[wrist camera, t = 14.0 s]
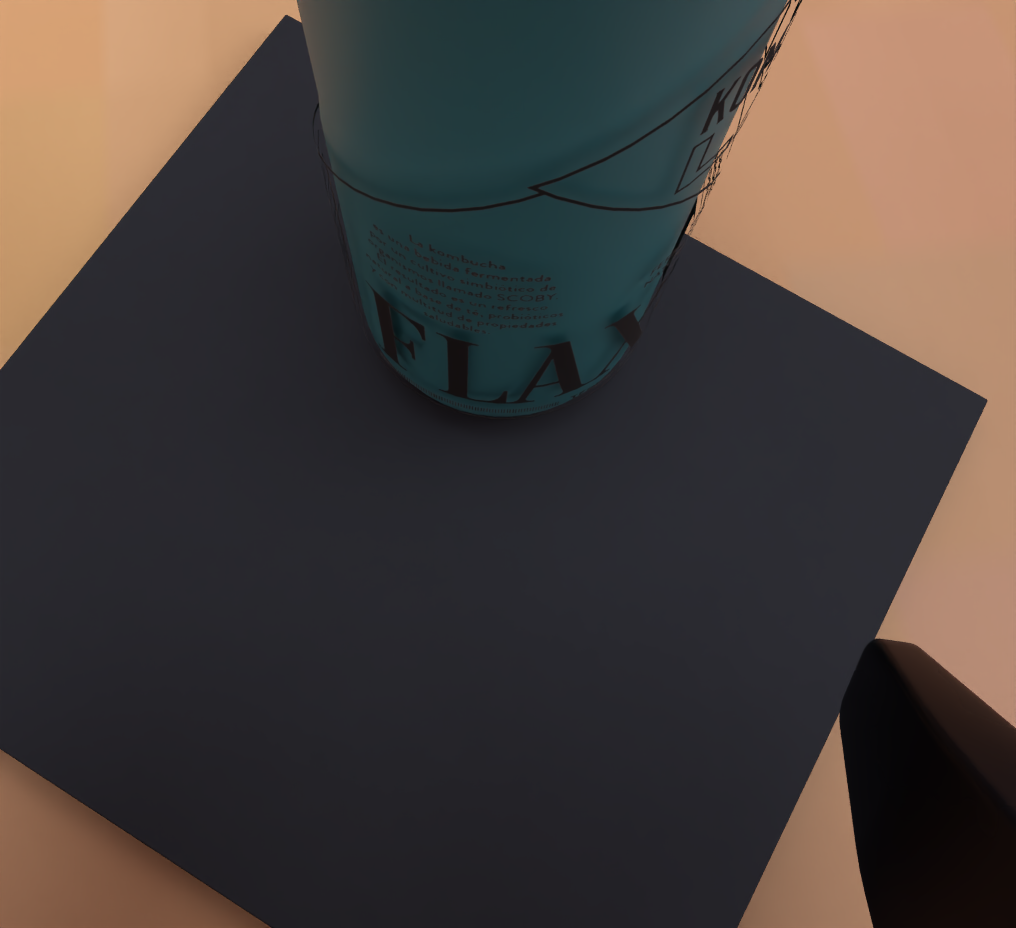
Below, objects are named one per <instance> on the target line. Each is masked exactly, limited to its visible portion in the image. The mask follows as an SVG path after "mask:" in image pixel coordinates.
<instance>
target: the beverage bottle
mask: <svg viewBox="0 0 1016 928" xmlns="http://www.w3.org/2000/svg"><path fill="white" fill-rule="evenodd" d="M796 1H797V0H795V2H796ZM786 2H787V0H297V3H298V8H299V12H300V17H301V21H302V25H303V30H304V34H305V38H306V43H307V47H308V52H309V56H310V60H311V65H312V69H313V73H314V78H315V82H316V87H317V91H318V95H319V103H318V104H317V107H316V109H315V112H314V118H313V126H314V120H315V114H316V112H317V109H318V107H319V110H320V118H321V123H322V127H323V132H324V137H325V141H326V146H327V150H328V155H329V159H330V164H331V168H332V170H331V169H330V168H329V167H328V165H327V164H326V163H325V161H324V160H323V153H322V157H321V155H320V154H319V157H321V159H322V164H323V162H324V164H325V165H326V169H327V168H328V169H329V170H330V171H331V172H332V173H333V177H334V181H335V186H336V190H337V195H338V199H339V204H340V208H341V213H342V217H343V221H344V226H345V230H346V235H347V239H348V244H349V248H350V253H351V257H352V264H353V266H354V270H355V275H356V279H357V284H358V288H359V293H360V297H361V301H362V306H363V310H364V313H365V316H366V319H367V323H368V325H369V328H370V330H371V332H372V334H373V336H374V339H375V341H376V343H377V344H378V346H379V347H380V349H381V351H382V352H383V354H384V355H385V356H384V359H385V357H386V358H387V359H388V360H387V359H386V362H387V361H389V362H390V363H391V364H392V368H393V367H394V370H395V369H396V372H397V371H398V374H399V373H400V376H401V375H402V377H404V379H406V380H407V381H409V382H410V383H411V384H412V385H414V386H415V387H417V388H418V389H419V390H421V391H422V392H423V393H425V394H426V395H428V396H429V397H431V398H433V399H435V400H437V401H439V402H440V403H442V404H444V405H447V406H450V407H452V408H455V409H457V410H460V411H464V412H468V413H472V414H477V415H484V416H476V415H472V414H468V413H463V412H459V411H455V410H453V409H450V408H448V407H445V406H442V405H440V404H437V403H435V402H433V401H431V400H429V399H428V398H426V397H424V396H422V395H420V394H419V393H417V392H416V391H414V390H413V389H412V388H410V387H409V386H407V385H406V384H405V383H403V382H402V381H401V380H400V379H399V378H398V377H397V376H396V375H395V374H394V373H393V372H392V373H393V374H394V375H395V376H396V377H397V378H398V379H399V380H400V381H401V382H402V383H403V384H405V385H406V386H407V387H409V388H410V389H411V390H413V391H414V392H416V393H417V394H418V395H420V396H422V397H424V398H426V399H427V400H429V401H431V402H433V403H435V404H437V405H439V406H442V407H445V408H447V409H450V410H453V411H455V412H459V413H463V414H467V415H471V416H475V417H484V418H493V417H513V416H521V415H529V414H533V413H537V412H541V411H545V410H548V409H551V408H553V407H556V406H558V405H561V404H563V403H565V402H567V401H569V400H571V399H573V398H575V397H577V396H579V395H581V394H583V393H585V391H588V390H589V389H590V388H591V387H592V388H593V387H594V385H595V384H596V385H598V384H599V383H598V382H599V381H601V379H602V378H603V377H604V376H605V375H606V374H608V373H609V372H610V371H611V369H612V368H613V367H614V366H615V365H616V363H617V362H618V361H619V360H620V359H621V357H622V355H623V354H624V352H625V351H626V349H627V348H628V346H630V349H631V348H632V346H633V345H634V344H635V343H636V342H637V340H638V339H639V337H640V336H641V334H642V330H641V327H640V325H639V323H640V321H641V320H642V318H643V316H644V315H645V313H646V312H647V310H648V308H649V307H650V305H651V303H652V305H653V300H654V298H655V297H656V298H657V293H658V292H659V290H660V289H661V287H662V285H663V284H664V282H665V281H666V279H667V278H666V279H665V280H664V281H663V278H664V276H665V274H666V272H667V269H668V267H669V265H670V263H671V261H672V260H673V258H675V257H674V254H675V252H676V250H677V249H678V247H680V245H679V244H681V243H680V242H681V239H682V237H683V235H684V233H685V231H686V229H687V227H688V224H689V222H690V220H691V218H692V216H693V214H694V217H695V211H696V204H697V196H698V195H699V194H700V193H701V192H702V191H704V190H705V189H708V187H709V186H710V185H711V186H712V184H713V181H714V180H715V179H716V178H717V176H718V175H719V174H720V173H719V174H718V172H719V171H718V172H717V174H718V175H717V174H716V177H715V179H713V178H714V177H712V180H713V181H712V183H708V184H707V186H706V187H705V188H703V189H702V190H701V188H702V185H703V183H704V184H705V179H706V177H707V175H708V172H709V171H710V172H712V169H711V166H712V165H713V163H714V162H716V161H717V160H718V158H719V157H720V156H721V154H723V152H724V151H725V150H726V149H727V148H728V146H729V144H730V142H732V141H731V139H732V137H733V135H734V134H733V135H732V137H731V138H730V139H729V140H728V141H729V143H728V141H727V142H726V143H725V144H724V146H725V145H726V144H727V143H728V145H727V147H726V148H725V150H724V151H723V152H721V154H720V155H719V156H717V155H718V153H719V151H720V150H721V149H722V148H723V147H724V146H723V147H722V148H721V149H720V150H719V148H720V146H721V144H722V142H723V140H724V137H725V135H726V133H727V131H728V129H729V126H730V124H731V122H732V120H733V118H734V116H735V113H736V111H737V109H738V107H739V105H740V103H741V102H742V101H743V99H744V98H745V100H746V97H745V96H747V93H748V91H749V89H750V87H751V85H752V83H753V80H754V78H755V76H756V74H757V72H758V70H759V67H760V65H761V63H762V61H763V58H761V57H762V54H763V52H764V50H765V58H766V59H765V58H764V60H765V61H764V64H763V66H762V68H761V70H760V72H759V74H758V77H757V79H756V81H755V83H754V85H753V87H752V90H753V89H754V88H755V87H756V84H757V82H758V80H759V78H760V76H761V73H762V76H763V71H764V69H765V68H766V67H767V65H768V64H769V63H770V64H771V62H772V60H773V58H774V56H775V54H776V53H778V52H777V51H779V49H780V47H781V45H782V44H780V43H781V41H782V39H783V37H784V35H785V33H786V30H787V28H788V26H789V25H790V23H791V21H792V19H793V17H795V16H794V15H796V14H795V13H796V11H797V9H798V7H799V5H800V3H801V2H802V0H801V1H800V0H799V2H800V3H799V2H798V4H797V7H796V9H795V11H794V13H793V15H792V18H791V20H790V23H789V24H788V26H787V28H786V30H785V31H784V33H783V35H782V37H781V39H780V41H779V43H778V45H777V46H778V47H776V48H777V49H776V48H775V45H776V43H775V44H774V45H773V46H772V47H771V45H772V43H773V41H774V39H775V37H776V34H777V32H778V30H779V28H780V26H781V24H782V22H783V19H784V17H785V15H786V13H787V11H788V9H789V7H790V4H791V0H789V2H788V3H787V4H786ZM785 4H786V6H785ZM788 4H789V6H788V8H787V10H786V12H785V15H784V17H783V19H782V21H781V23H780V25H779V27H778V30H777V32H776V34H775V36H774V38H773V40H772V43H771V45H770V47H771V48H770V47H769V49H770V51H769V49H768V51H767V43H768V41H769V39H770V37H771V35H772V33H773V30H774V28H775V26H776V24H777V22H778V19H779V17H780V15H781V14H782V12H783V11H784V9H785V8H786V7H787V5H788ZM784 6H785V7H784ZM792 22H793V21H792ZM791 24H792V23H791ZM790 26H791V25H790ZM789 28H790V27H789ZM788 30H789V29H788ZM787 32H788V31H787ZM786 34H787V33H786ZM785 36H786V35H785ZM784 38H785V37H784ZM779 45H780V46H779ZM774 49H775V50H776V51H775V50H774ZM766 51H767V53H766ZM768 52H769V53H768ZM774 52H775V53H774ZM767 54H768V55H767ZM776 55H777V54H776ZM766 56H767V57H766ZM775 57H776V56H775ZM768 59H769V60H768ZM774 59H775V58H774ZM767 61H768V62H767ZM770 61H771V62H770ZM773 61H774V60H773ZM770 64H769V66H770ZM769 66H768V68H769ZM756 67H757V68H756ZM768 68H767V70H768ZM770 68H771V67H770ZM767 70H766V71H767ZM769 70H770V69H769ZM765 73H766V72H765ZM753 74H754V75H753ZM767 74H768V73H767ZM752 76H753V77H752ZM766 76H767V75H766ZM766 76H765V78H766ZM751 78H752V79H751ZM765 78H764V80H765ZM761 80H762V77H761ZM762 82H763V81H762ZM762 82H761V81H760V83H761V84H759V88H761V85H762ZM759 88H758V89H759ZM746 89H747V90H746ZM752 90H751V91H752ZM759 90H760V89H759ZM751 91H750V93H751ZM758 92H759V91H758ZM757 94H758V93H757ZM756 96H757V95H756ZM755 98H756V97H755ZM753 101H754V100H753ZM752 103H753V102H752ZM744 104H745V101H744ZM751 105H752V104H751ZM750 107H751V106H750ZM743 108H744V105H743ZM749 109H750V108H749ZM748 111H749V110H748ZM748 111H747V112H748ZM742 112H743V109H742ZM746 114H747V113H746ZM741 116H742V113H741ZM745 116H746V115H745ZM747 116H748V115H747ZM744 118H745V117H744ZM746 118H747V117H746ZM740 120H741V117H740ZM740 120H739V124H740ZM743 120H744V119H743ZM744 121H745V120H744ZM742 122H743V121H742ZM743 123H744V122H743ZM739 124H738V127H740V126H739ZM740 125H741V124H740ZM742 125H743V124H742ZM741 127H742V126H741ZM741 127H740V128H741ZM738 129H739V128H737V131H739V130H740V129H739V130H738ZM737 131H736V134H737V133H738V132H737ZM318 132H319V130H318ZM736 134H735V135H734V137H733V139H734V138H735V136H736ZM313 137H314V131H313ZM318 137H319V135H318ZM318 139H319V138H318ZM733 139H732V140H733ZM733 141H734V140H733ZM314 142H315V141H314ZM318 144H319V142H318ZM732 144H733V143H732ZM315 145H316V144H315ZM731 146H732V145H731ZM316 148H317V147H316ZM318 148H319V147H318ZM730 149H731V148H730ZM317 150H318V149H317ZM718 150H719V151H718ZM318 151H319V150H318ZM729 152H730V151H729ZM318 153H319V152H318ZM728 154H729V153H728ZM716 157H717V159H716ZM727 157H728V156H727ZM721 158H722V156H721ZM714 159H716V160H715V161H714ZM720 160H721V161H722V159H720V158H719V162H720V163H721V161H720ZM713 161H714V162H713ZM320 163H321V161H320ZM716 163H717V162H716ZM720 163H719V166H718V168H720ZM715 166H716V164H714V168H715V169H714V170H715V172H716V167H715ZM322 167H323V166H322ZM321 169H322V168H321ZM328 169H327V173H328ZM710 169H711V170H710ZM718 170H719V169H718ZM322 171H324V170H322ZM720 172H721V171H720ZM323 173H325V171H324V172H323ZM709 174H710V173H709ZM713 174H714V172H713ZM322 175H323V174H322ZM710 176H711V175H710ZM714 176H715V174H714ZM328 177H329V173H328ZM709 179H711V178H710V177H708V180H709ZM324 181H325V182H326V179H325V178H324ZM328 181H330V177H329V179H328ZM709 181H710V180H709ZM715 181H716V180H715ZM325 182H324V183H325ZM714 183H715V182H714ZM325 185H326V184H325ZM328 185H329V184H328ZM330 185H331V181H330ZM713 185H714V184H713ZM326 188H327V185H326ZM710 188H711V187H710ZM328 189H329V186H328ZM331 190H332V186H331ZM700 190H701V191H700ZM708 190H709V189H708ZM326 191H329V190H326ZM706 191H707V190H706ZM710 191H712V190H711V189H710ZM710 191H709V192H710ZM707 193H708V191H707ZM332 194H333V190H332ZM327 195H329V194H328V192H327ZM706 195H707V194H706ZM708 195H709V194H708ZM702 197H703V195H702ZM705 197H707V196H705ZM329 198H331V194H330V196H329ZM333 198H334V194H333ZM705 199H706V198H705ZM705 199H704V201H705ZM330 201H331V200H329V202H330ZM334 202H335V199H334ZM701 203H702V201H701ZM330 204H331V202H330ZM339 204H338V211H339ZM334 205H335V212H334V213H335V215H334V214H333V211H332V214H333V215H334V217H335V216H336V211H337V207H336V203H334ZM703 206H704V203H703ZM331 208H332V206H331ZM702 209H703V207H702ZM702 209H701V211H700V210H699V211H700V212H699V213H701V212H702ZM338 211H337V215H338ZM699 213H698V214H699ZM699 216H700V215H699ZM697 217H698V215H697ZM697 217H696V218H697ZM698 218H699V217H698ZM335 219H336V217H335ZM338 219H339V216H338ZM333 220H334V218H333ZM693 220H694V219H693ZM694 221H695V220H694ZM696 221H697V220H696ZM334 222H335V221H334ZM335 223H336V222H335ZM339 223H340V220H339ZM335 225H336V224H335ZM692 225H693V224H692ZM692 225H691V227H692ZM693 226H694V225H693ZM336 227H337V226H335V228H336ZM692 228H693V227H692ZM336 230H337V228H336ZM691 230H692V229H691ZM691 230H690V231H691ZM340 231H341V232H342V228H341V224H340ZM690 231H689V232H690ZM341 232H340V234H341ZM691 233H692V232H691ZM337 234H339V233H338V232H337ZM688 234H689V233H688ZM688 234H687V236H688ZM690 235H691V234H690ZM342 236H343V240H344V235H343V233H342ZM689 237H690V236H689ZM689 237H688V238H689ZM340 238H341V236H340ZM686 238H687V237H685V238H684V240H685V239H686ZM688 238H687V239H688ZM338 239H339V238H338ZM339 240H340V242H341V239H339ZM684 240H683V242H684ZM686 241H687V240H686ZM683 242H682V244H683ZM343 243H344V244H343ZM339 244H340V243H339ZM682 244H681V245H682ZM684 244H685V242H684ZM684 244H683V245H684ZM344 245H345V241H342V246H340V247H341V249H342V250H343V253H342V254H344ZM682 247H683V246H682ZM345 249H346V253H347V247H346V245H345ZM680 249H681V248H680ZM680 249H679V250H678V251H679V252H680ZM679 252H678V253H679ZM346 253H345V258H346V256H347V257H348V254H347V255H346ZM678 253H676V255H678ZM680 253H681V252H680ZM676 255H675V256H676ZM678 256H679V255H678ZM343 257H344V256H343ZM678 259H679V258H678ZM678 259H677V260H678ZM343 260H345V259H344V258H343ZM344 262H345V261H344ZM348 262H349V258H348ZM345 263H346V265H345V266H347V259H346V262H345ZM676 263H677V262H675V264H674V263H673V264H674V267H673V268H675V265H676ZM673 264H672V265H673ZM672 265H671V266H672ZM349 266H350V263H349ZM348 268H349V267H348ZM673 268H672V269H673ZM345 269H347V268H345ZM350 270H351V277H349V278H348V281H349V279H350V278H351V286H352V283H354V280H353V282H352V278H353V275H352V268H351V267H350ZM347 272H348V273H347ZM671 272H672V270H671ZM671 272H670V273H671ZM346 273H347V274H348V275H349V276H350V272H349V271H346ZM662 273H663V277H662V283H661V285H660V286H659V287H657V289H658V288H659V289H658V290H657V289H656V290H657V292H656V295H655V296H653V300H652V301H651V303H650V305H649V306H648V303H649V301H650V299H651V297H652V295H653V292H655V288H656V286H657V284H658V283H659V281H660V277H661V275H662ZM670 273H669V275H670ZM348 275H347V277H348ZM669 275H668V276H669ZM668 276H667V277H668ZM670 276H671V275H670ZM667 280H668V279H667ZM668 281H669V280H668ZM349 283H350V281H349ZM667 283H668V282H667ZM349 285H350V284H349ZM353 285H354V287H355V284H353ZM666 285H667V284H666ZM665 287H666V286H665ZM665 287H664V288H665ZM350 288H351V287H350ZM351 291H352V290H351ZM355 291H356V288H355ZM663 291H664V290H663ZM352 293H353V292H352ZM353 295H354V294H353ZM356 295H357V292H356ZM660 297H661V296H660ZM659 299H660V298H659ZM357 300H358V297H357ZM353 301H354V299H353ZM655 301H656V300H655ZM658 301H659V300H658ZM655 303H656V302H655ZM354 304H355V303H354ZM358 304H359V301H358ZM657 304H658V302H657V303H656V305H654V306H655V307H653V308H654V309H655V308H656V306H657ZM355 305H356V304H355ZM647 306H648V308H647ZM356 307H357V306H356ZM359 308H360V305H359ZM646 308H647V310H646ZM645 310H646V311H645ZM651 310H652V308H651ZM357 312H358V311H357ZM360 312H361V309H360ZM644 312H645V313H644ZM652 312H653V310H652ZM650 313H651V312H650ZM651 316H652V314H651ZM361 317H362V314H361ZM649 317H650V316H649ZM650 318H651V317H650ZM648 320H649V319H648ZM362 321H363V318H362ZM359 322H360V321H359ZM647 323H648V322H647ZM363 325H364V322H363ZM361 327H362V326H361ZM362 329H363V328H362ZM364 329H365V326H364ZM645 329H646V327H645ZM363 331H364V330H363ZM643 331H644V330H643ZM365 333H366V331H365ZM643 333H644V332H643ZM642 335H643V334H642ZM641 337H642V336H641ZM366 338H367V335H366ZM367 340H368V339H367ZM369 343H370V342H369ZM637 343H638V342H637ZM370 345H371V344H370ZM636 345H638V344H636ZM636 345H635V346H636ZM371 346H372V345H371ZM372 348H373V347H372ZM634 348H635V347H634ZM634 348H633V349H634ZM630 349H629V350H630ZM373 350H374V349H373ZM629 350H628V351H629ZM634 350H635V349H634ZM374 351H375V350H374ZM632 351H633V350H632ZM632 351H631V352H632ZM375 353H376V352H375ZM632 353H633V352H632ZM383 354H381V356H383ZM626 354H627V353H626ZM626 354H625V355H626ZM629 355H630V353H629V354H628V356H629ZM377 356H378V355H377ZM628 356H627V357H628ZM378 357H379V356H378ZM627 357H626V358H627ZM379 358H380V357H379ZM629 358H630V357H629ZM629 358H628V359H629ZM380 360H381V359H380ZM624 360H625V359H624ZM624 360H623V361H622V362H624ZM381 361H382V360H381ZM382 362H383V361H382ZM389 362H388V364H389ZM383 363H384V362H383ZM391 364H390V366H391ZM624 364H625V363H624ZM624 364H623V365H624ZM384 365H385V364H384ZM620 365H621V364H620ZM620 365H619V366H620ZM385 366H386V365H385ZM386 367H387V366H386ZM387 368H388V367H387ZM388 369H389V368H388ZM620 369H621V368H620ZM620 369H619V370H620ZM619 370H618V371H619ZM389 371H390V370H389ZM614 371H615V369H614V370H613V371H612V372H614ZM618 371H617V372H618ZM390 372H391V371H390ZM612 372H611V373H612ZM617 372H616V373H617ZM616 373H615V374H616ZM615 374H614V375H615ZM610 375H611V374H610ZM610 375H609V376H610ZM614 375H613V376H614ZM613 376H612V377H613ZM607 377H608V375H607ZM612 377H611V378H612ZM605 378H606V377H605ZM605 378H604V380H605ZM611 378H610V379H611ZM610 379H609V380H610ZM609 380H608V381H609ZM596 385H595V386H596ZM603 385H604V384H603ZM603 385H602V386H603ZM600 387H601V386H600ZM600 387H599V388H600ZM599 388H597V389H599ZM597 389H596V390H597ZM596 390H595V391H596ZM593 392H594V391H593ZM593 392H592V393H593ZM592 393H590V394H592ZM590 394H589V395H590ZM589 395H587V396H589ZM587 396H585V397H587ZM585 397H583V398H585ZM583 398H581V399H583ZM581 399H580V400H581ZM578 401H579V400H578ZM578 401H576V402H578ZM576 402H574V403H576ZM574 403H572V404H574ZM572 404H569V405H572ZM569 405H567V406H569ZM567 406H564V407H567ZM564 407H562V408H564ZM559 409H561V408H559ZM559 409H556V410H559ZM556 410H554V411H556ZM554 411H550V412H554ZM550 412H546V413H550ZM546 413H542V414H546ZM542 414H538V415H542ZM538 415H532V416H538ZM485 416H493V417H485ZM532 416H524V417H532ZM524 417H516V418H524ZM516 418H493V419H516Z"/></svg>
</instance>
